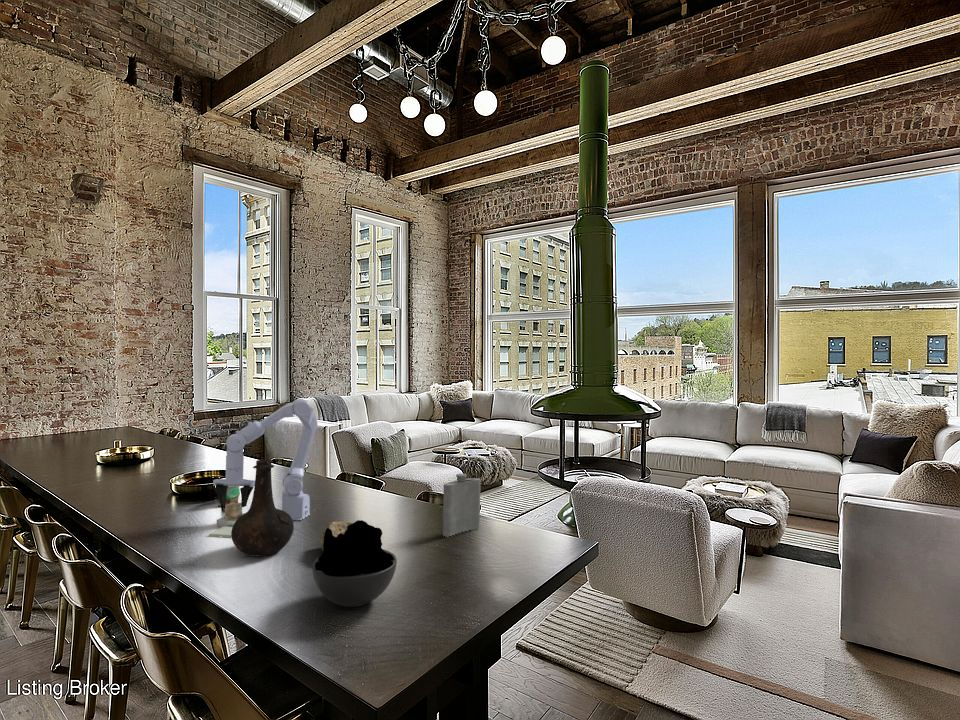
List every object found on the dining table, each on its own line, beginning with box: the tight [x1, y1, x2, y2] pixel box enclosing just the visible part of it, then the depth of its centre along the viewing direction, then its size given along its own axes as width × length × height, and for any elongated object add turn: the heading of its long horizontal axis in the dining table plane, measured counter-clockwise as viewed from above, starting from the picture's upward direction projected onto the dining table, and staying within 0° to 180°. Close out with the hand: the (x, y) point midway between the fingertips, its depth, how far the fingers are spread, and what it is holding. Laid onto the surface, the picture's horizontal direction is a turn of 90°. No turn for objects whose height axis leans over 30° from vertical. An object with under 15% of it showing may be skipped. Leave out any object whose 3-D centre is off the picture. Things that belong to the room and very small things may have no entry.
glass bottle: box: [230, 458, 295, 557], centre depth 158 cm, size 18×18×28 cm
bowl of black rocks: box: [311, 519, 398, 608], centre depth 125 cm, size 20×20×19 cm
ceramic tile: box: [208, 526, 233, 538], centre depth 173 cm, size 9×8×1 cm
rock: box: [319, 520, 354, 551], centre depth 156 cm, size 21×14×10 cm
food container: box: [217, 486, 241, 508], centre depth 208 cm, size 12×6×10 cm, turn 179°
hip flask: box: [442, 473, 481, 538], centre depth 179 cm, size 16×4×20 cm, turn 133°
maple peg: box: [224, 502, 243, 519], centre depth 183 cm, size 4×4×7 cm
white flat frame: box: [215, 512, 246, 528], centre depth 183 cm, size 14×9×2 cm, turn 83°
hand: (233, 506), depth 183 cm, fingers open, 7 cm apart
